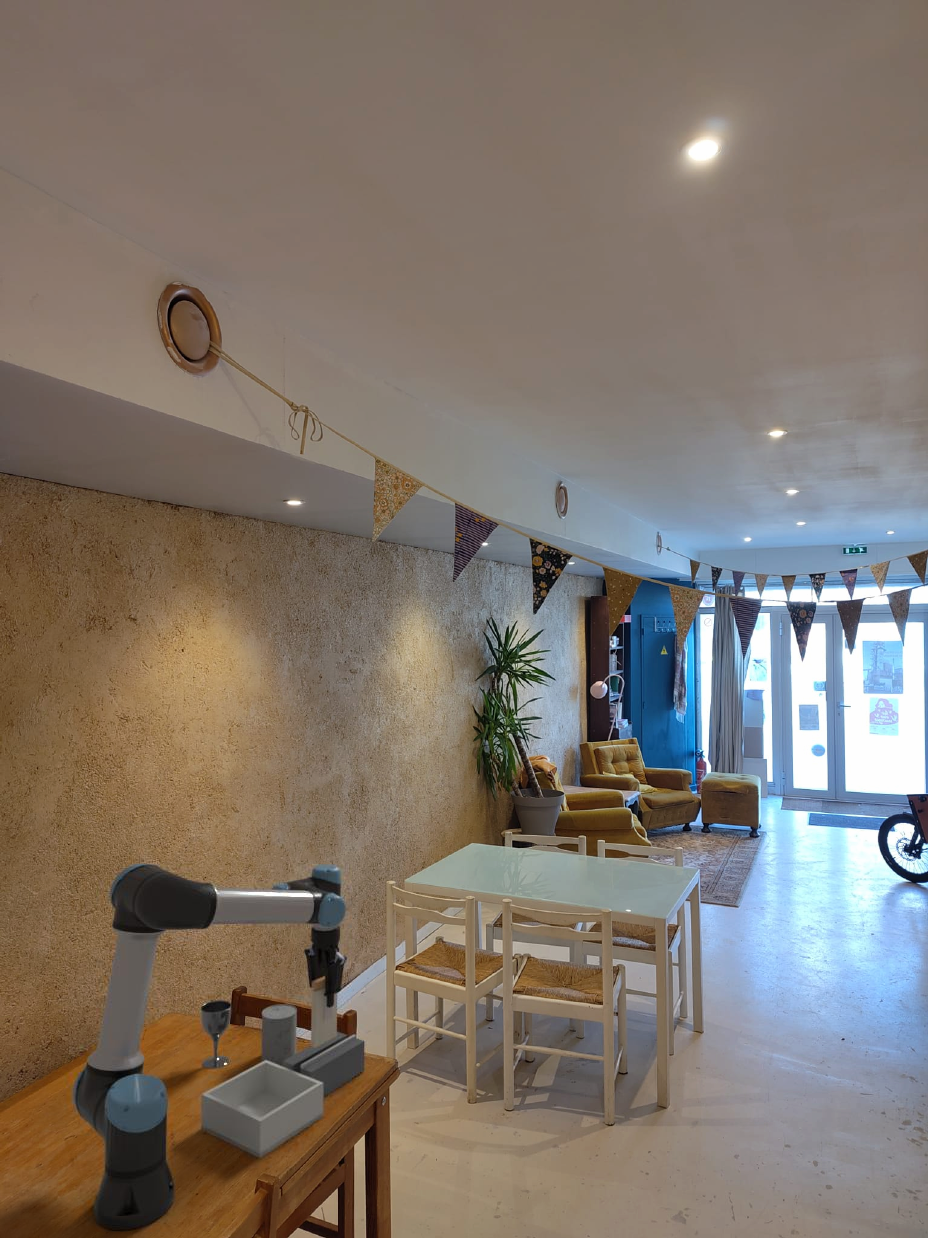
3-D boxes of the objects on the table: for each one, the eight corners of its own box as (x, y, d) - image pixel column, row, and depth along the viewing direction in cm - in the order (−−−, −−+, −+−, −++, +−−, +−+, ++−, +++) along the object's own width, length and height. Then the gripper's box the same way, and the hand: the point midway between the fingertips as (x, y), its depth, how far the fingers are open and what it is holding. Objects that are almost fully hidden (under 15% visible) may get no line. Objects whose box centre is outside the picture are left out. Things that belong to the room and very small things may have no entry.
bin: (259, 1158, 184) (260, 1121, 184) (201, 1129, 195) (201, 1094, 195) (323, 1116, 200) (323, 1083, 201) (265, 1092, 211) (265, 1060, 212)
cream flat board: (315, 1048, 213) (316, 983, 214) (310, 1046, 214) (311, 981, 214) (336, 1036, 220) (337, 973, 220) (332, 1034, 220) (333, 972, 221)
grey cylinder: (300, 1049, 234) (301, 1005, 235) (290, 1066, 225) (290, 1020, 225) (268, 1047, 235) (268, 1003, 236) (256, 1064, 226) (256, 1018, 226)
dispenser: (311, 1105, 205) (311, 1069, 206) (282, 1093, 211) (282, 1058, 211) (364, 1071, 222) (364, 1038, 222) (336, 1061, 227) (336, 1028, 228)
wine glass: (194, 1067, 224) (194, 1010, 225) (211, 1053, 232) (212, 999, 232) (219, 1071, 222) (220, 1014, 222) (236, 1057, 229) (236, 1002, 230)
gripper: (356, 927, 217) (354, 1019, 216) (315, 917, 225) (314, 1006, 224) (336, 935, 211) (335, 1030, 210) (295, 925, 219) (294, 1016, 218)
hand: (324, 1017), depth 217 cm, fingers closed on cream flat board, 1 cm apart
